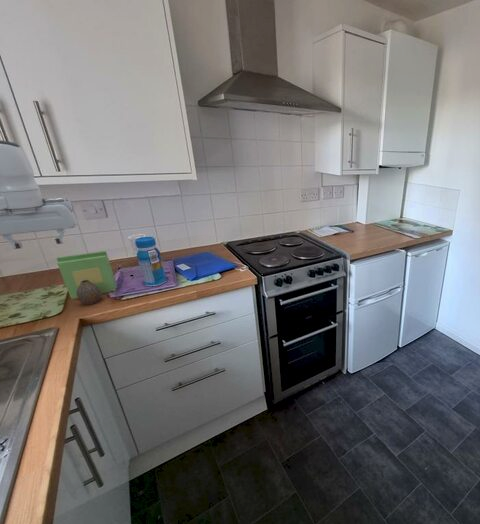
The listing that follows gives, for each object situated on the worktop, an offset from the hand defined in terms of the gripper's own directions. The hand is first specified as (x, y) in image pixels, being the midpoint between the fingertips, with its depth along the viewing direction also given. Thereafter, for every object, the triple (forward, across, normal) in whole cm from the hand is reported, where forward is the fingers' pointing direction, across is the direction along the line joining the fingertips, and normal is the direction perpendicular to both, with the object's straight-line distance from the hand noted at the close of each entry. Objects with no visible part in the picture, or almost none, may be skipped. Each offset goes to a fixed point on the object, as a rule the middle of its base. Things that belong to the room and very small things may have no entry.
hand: (40, 245), depth 91 cm
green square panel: (+27, -4, -22) cm, 35 cm away
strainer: (+27, -20, -50) cm, 60 cm away
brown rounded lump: (+27, -4, -13) cm, 30 cm away
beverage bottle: (+27, -25, -20) cm, 42 cm away
